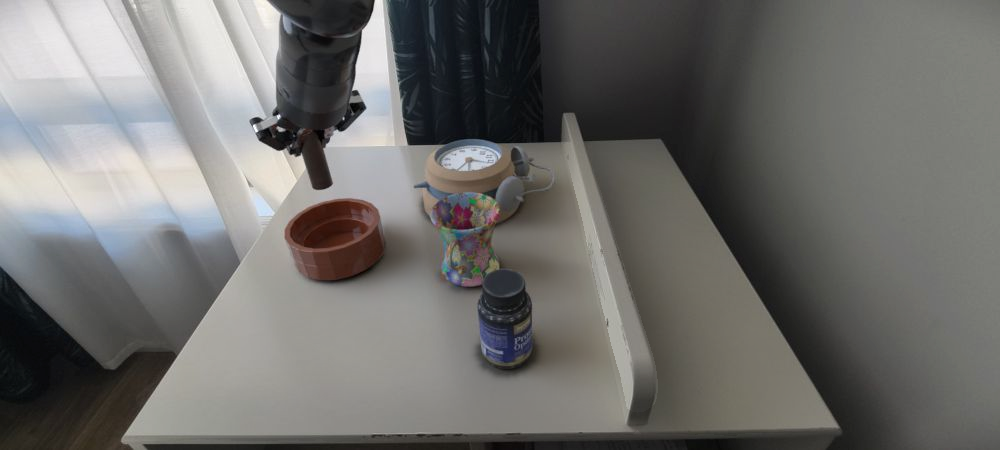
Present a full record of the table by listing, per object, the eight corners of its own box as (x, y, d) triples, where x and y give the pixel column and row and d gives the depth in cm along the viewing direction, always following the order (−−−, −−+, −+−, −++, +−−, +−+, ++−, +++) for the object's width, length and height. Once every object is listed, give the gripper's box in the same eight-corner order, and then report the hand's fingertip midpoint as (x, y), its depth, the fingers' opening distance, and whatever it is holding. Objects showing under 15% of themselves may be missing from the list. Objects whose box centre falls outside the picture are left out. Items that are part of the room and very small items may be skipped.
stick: (316, 192, 66) (290, 107, 59) (309, 184, 68) (282, 101, 61) (336, 185, 67) (312, 101, 60) (328, 177, 69) (304, 95, 62)
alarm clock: (432, 130, 89) (559, 135, 86) (438, 174, 95) (558, 181, 91) (401, 177, 76) (550, 185, 72) (410, 225, 81) (549, 235, 77)
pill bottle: (524, 376, 56) (522, 307, 49) (474, 364, 58) (466, 296, 51) (538, 337, 61) (538, 269, 54) (491, 326, 62) (486, 259, 56)
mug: (451, 247, 76) (444, 189, 70) (509, 255, 74) (507, 195, 68) (422, 301, 67) (411, 239, 60) (488, 311, 64) (483, 248, 58)
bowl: (315, 298, 68) (303, 265, 64) (284, 251, 77) (272, 220, 73) (402, 257, 74) (395, 225, 71) (363, 219, 83) (356, 188, 80)
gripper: (361, 34, 54) (343, 108, 70) (228, 63, 48) (240, 137, 63) (392, 93, 54) (367, 154, 69) (262, 130, 47) (266, 189, 62)
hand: (306, 146), depth 66 cm, fingers closed on stick, 3 cm apart
